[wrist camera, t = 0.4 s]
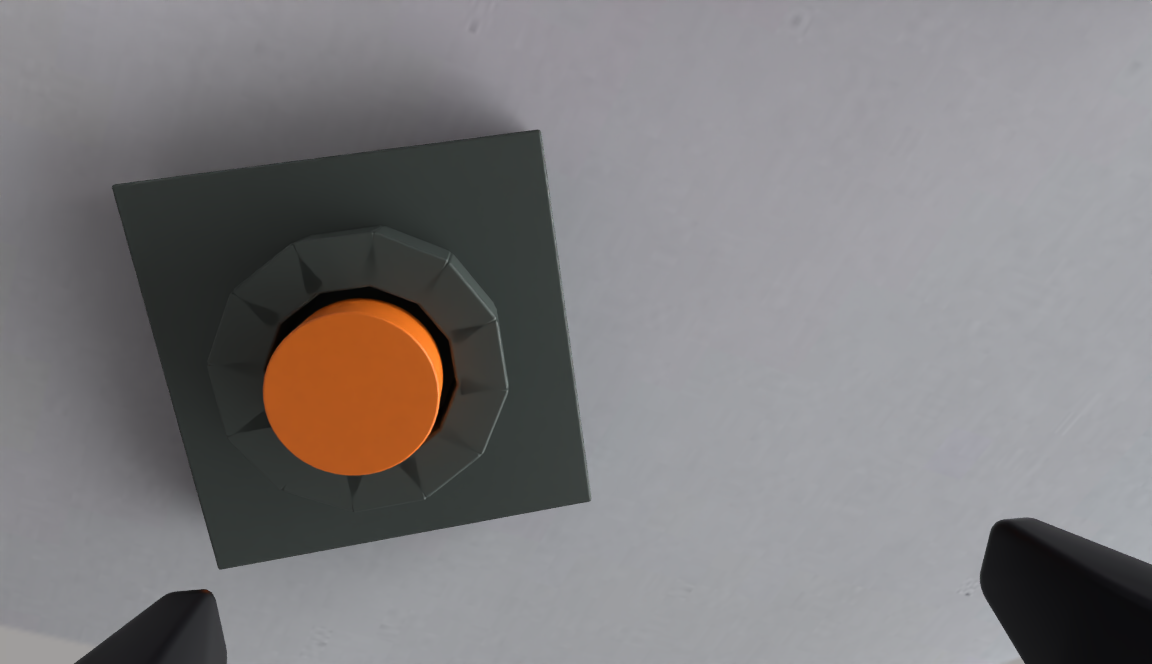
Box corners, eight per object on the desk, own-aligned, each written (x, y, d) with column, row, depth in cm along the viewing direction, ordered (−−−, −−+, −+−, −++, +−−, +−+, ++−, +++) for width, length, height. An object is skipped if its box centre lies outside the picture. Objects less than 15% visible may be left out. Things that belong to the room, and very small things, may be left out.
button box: (580, 469, 22) (603, 533, 18) (244, 530, 21) (191, 612, 17) (533, 133, 19) (548, 124, 16) (152, 183, 18) (65, 186, 15)
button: (454, 432, 17) (453, 460, 16) (303, 458, 17) (283, 490, 15) (428, 286, 16) (423, 300, 15) (268, 310, 16) (243, 327, 14)
